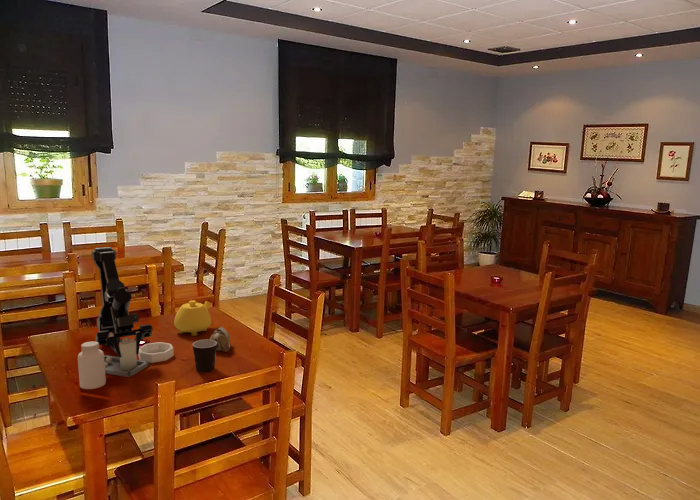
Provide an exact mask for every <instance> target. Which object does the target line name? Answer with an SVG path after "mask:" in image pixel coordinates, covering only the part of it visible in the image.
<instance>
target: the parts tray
mask: <svg viewBox="0 0 700 500" xmlns="http://www.w3.org/2000/svg"><path fill="white" fill-rule="evenodd" d="M104 363H105V375H106V374H108V375H113V376H119V377H125V378H131V377H132V376H134V375H136V374H137V373H139V372H141V371H142V370H144V369H145V368H148V367H149V366H150V362H148V361H141V360H140V359H137V367H136V368H135V369H133V370H131V371H130V372H126V371H120V358H119V357H118V356H113V355H107V354H106V355H105V354H104Z"/></svg>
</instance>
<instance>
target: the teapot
mask: <svg viewBox="0 0 700 500" xmlns="http://www.w3.org/2000/svg"><path fill="white" fill-rule="evenodd" d="M179 307H180V308H179V309H178V311H177V312H176V314H175V317H174V324H173V325H174V327H175V328H176V329H178V333H179V334H184V333H190V336H192V337H193V336H198V332H206V331H208V328H209V327H210V325H212V317H211V314H210V312H209V309H210V307H211V302H210V301H207V300H205V301H204V304H203V303H201V302H197V300H195V299H193V300H189V301H188V302H186V303H184V304H182V305H181V306H179Z"/></svg>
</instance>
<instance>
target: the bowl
mask: <svg viewBox="0 0 700 500" xmlns="http://www.w3.org/2000/svg"><path fill="white" fill-rule="evenodd" d="M174 353H175V352H174V346H173V345H172V344H171V343H168V342H163V341H157V342H152V343H151V342H150V343H145V344H144V345H142V346H139V353H138V354H137V355H138V357H137V358H138V360H141V361H148V362H149V364H151V363H152V364H154V363H159V362H165V361H168V360H170V359H171V358H172V357H174Z"/></svg>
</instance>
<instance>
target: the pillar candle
mask: <svg viewBox="0 0 700 500" xmlns="http://www.w3.org/2000/svg"><path fill="white" fill-rule="evenodd" d="M118 347H119V350H120V354H121V357H120V371H126V372H130V371H131V370H133V369H135V368H136V367H137V360H138V357H137V355H138V354H137V352H136V340H135V338H128V337H123V339H122V341H120V342H118Z"/></svg>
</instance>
